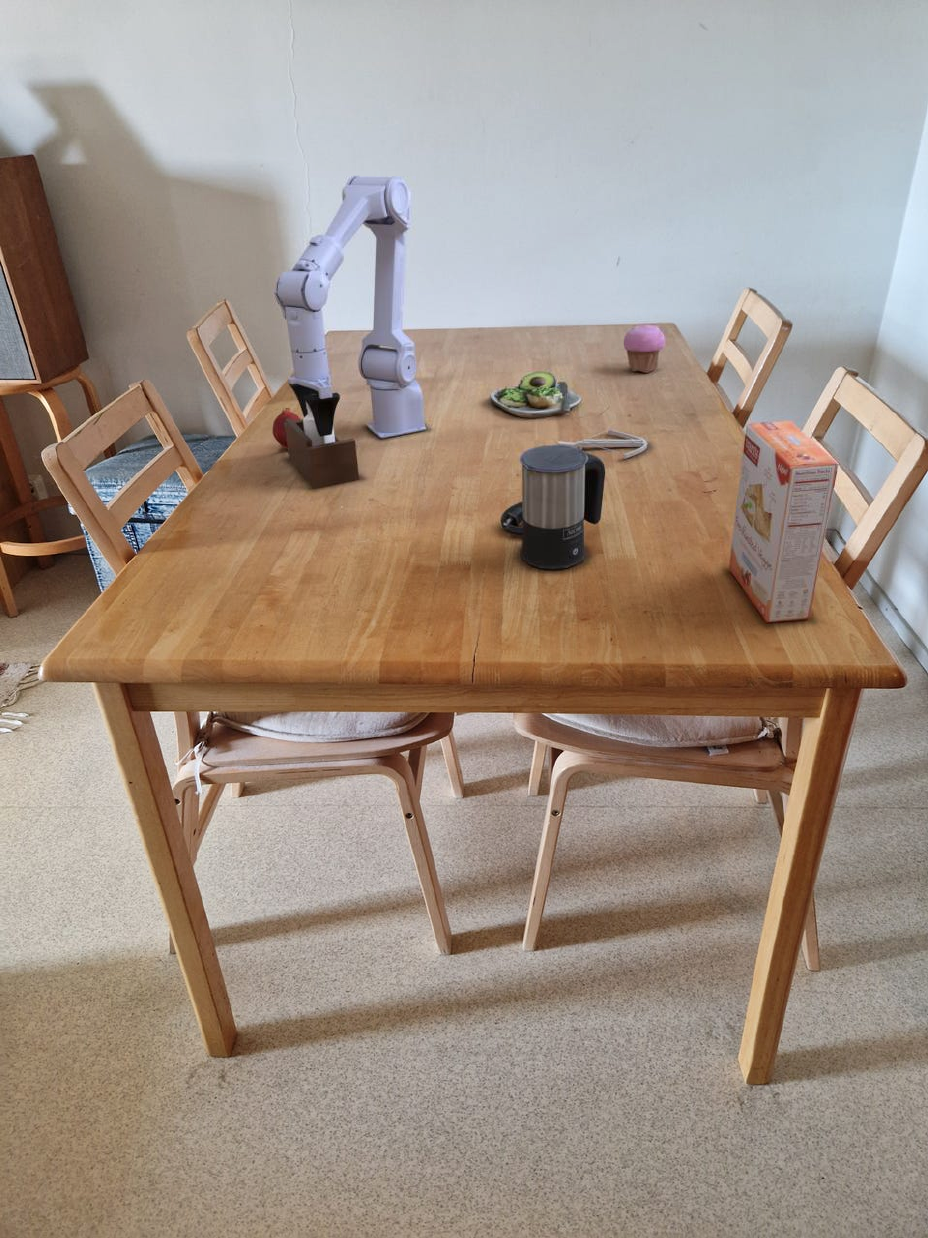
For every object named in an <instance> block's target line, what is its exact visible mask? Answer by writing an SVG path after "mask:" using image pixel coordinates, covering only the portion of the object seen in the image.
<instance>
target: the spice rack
mask: <svg viewBox="0 0 928 1238" xmlns="http://www.w3.org/2000/svg"><path fill="white" fill-rule="evenodd" d="M303 419H304V418H301V420H296V421H293V420H292V419H291V418H289V419H285V421H286V422H285V423H284V424H285V431H286V438H287V445H288V448H287V451H288V457H289V461H290V462H291V464H292V465H293V466H294V467H295V468H296V469H297V470H298V471H299V473H300V474H301V475H302V476H303V478H304V479H305V480H306V481H307V482H308V484H309V485H310V486H311V487H312V488H313V489H314V490H316V489H320V488H326V487H330V486H335V485H340V484H344V483H348V482H354V481H357V480H358V481H359V480H360V475H359V474H360V473H359V466H358V465H359V464H358V455H357V447H356V445H357V444H356V440H355V439H354V438H348V439H343V438H342V437H341V436H340V435H339V434H338V433H337V432H336V431H334V437H335V442H331V443H326V444H321V445H316V446H312V440H311V439H310V438H309V437H308V436H307V435H306V434H305V431H304V424H303Z"/></svg>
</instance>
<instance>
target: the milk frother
mask: <svg viewBox="0 0 928 1238" xmlns="http://www.w3.org/2000/svg"><path fill="white" fill-rule="evenodd" d="M519 462H520V464H521V501H519V502H517V503H515V504H513V505H511V506H509V507H508V508H506V509H505V510H504V512H502V514H501V516H500V525H501V528H502V529H503V530H504V531H505V532H507V533H509V534H510V535H514V536H521V538H522V539H521V549H520V551H519V552H520V553H519V555H520V558H521V559H522V560H523V562H525V563H526V564H527V565H530V566H531V567H534V568H537V569H544V570H563V569H569V568H571V567H574V566H577V565H578V564H580V563H582V561H583V560H584V559H585V558H586V548H585V522H587V523H589V524H592V525H597V524H599V523H600V522H601V519H602V518H601V517H602V508H603V500H604V491H605V481H606V480H605V479H606V467H605V463H604V462H603V461H602V459H601V458H600V457H598V456H596V455H594V454H592V453H588V452H585V450H583V449H581V450H580V449H579V448H575V447H570V446H565V445H558V444H548V445H539V446H536V447H531V448H529V449H527V450H525V451H523V452H522V453H521V455H519ZM584 521H585V522H584ZM521 524H522V526H520V525H521Z"/></svg>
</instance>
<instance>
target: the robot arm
mask: <svg viewBox="0 0 928 1238" xmlns="http://www.w3.org/2000/svg"><path fill="white" fill-rule="evenodd" d="M345 184H346V185H345V186H344V187H343V188H342V189H341V190H342V192H341V196H342V202H341V205H340V206H339V208H338V210H337V212H336V214H335V215H334V218H333V219H332V221H331V222H330V224H329V226H328V227H327V230H326V232H325V234H317V235H315V236H312V237H311V238H310V240H309V242H308V245H307V247H306V248H305V249H304V251H303V252H302V253H301V256H300V257H299V259H298V260H297V261H296V263H295V264H294V266H293V267H292V269H288V270H285V271H283V273H281V274H280V275H279V277H278V278H277V280H276V284H275V291H274V297H275V300H276V302H277V304H278V305H279V306H280V308H281V312H282V317H284V319H285V320H286V325H287V331H288V338H289V339H288V340H289V346H290V353H291V359H292V360H291V361H292V367H293V375H292V376H289V377H287V383H288V385H289V387H290V388H291V390H292V391H293V393H294V395H295V397H296V399H297V401H298V404H299V407H300V409H301V412H302V415H303V418H304V417H305V416H306V415H308V410H307V407H306V402H307V404H308V405H309V407H310V409H311V412H312V414H313V417H314V421H315V425H316V428H317V431H318V434H319V436H320V437H322V436H327V435H332V431H333V428H334V421H335V420H334V419H335V414H336V409H337V407H338V404H339V402H340V400H341V395H340V393H338V392H333V390H332V385H331V381H332V380H331V379H332V375H331V373H330V369H329V360H328V353H327V352H328V351H327V342H326V335H325V327H324V320H323V310H322V308H323V307H324V306H325V305H326V304H327V300H328V295H329V289H330V287H331V286H330V285H331V280H332V278H334V276H335V274H336V273H337V272H338V270H339V268H340V267H341V265H342V263H344V260H345V253H344V251H343V249H344V248H345V247H346V246H347V244H348V243H349V242H350V240H351V239H352V238H353V236H354V235H355V234H356V233H357V232H358V230H359V229H360V228H361V227H362V226H363V225H364V227H366V228H367V229H369V230H370V231H371V233H373V235H374V237H375V239H376V240H375V265H374V267H375V269H374V294H373V295H374V298H373V299H374V300H373V329H372V330H371V331H370V332H369V333H368V334H367V335H366V336H364V337H363V338H362V339H361V341H362V342H361V350H360V353H359V356H358V362H357V364H358V365H357V366H358V371H359V375H360V376H361V378H362V379H364V380H365V381H366V385H367V386H369V389H370V399H371V400H370V401H371V409H372V418H373V419H372V420H373V422H371V423H367V424H366V427H367V428H368V429H369V430H370V431H371V432H372V433H374V434H375V435H376V436H377V437H378V438H379V439H387V438H391V437H396V436H401V435H407V434H411V433H417V432H421V431H425V430H427V427H426V426H425V410H424V409H425V408H424V395H423V392H422V387H421V385H420V383H419V382H418V381H417V380H416V379H415V377H416V374H417V370H418V362H417V358H416V351H415V349H416V348H415V346H416V345H415V343H414V341H412V339H411V338H409V337H408V336H407V334H405V332H404V331H403V319H404V318H403V317H404V296H405V295H404V294H405V277H406V276H405V275H406V274H405V273H406V254H407V253H406V252H407V251H406V250H407V249H406V248H407V231H408V230H409V229H410V221H411V220H410V219H411V201H412V200H411V197H412V193H411V191H410V189H409V187H408V186H407V184H406V181H405V180H404V178H402V177H401V176H397V175H396V176H392V177H391V176H386V177H385V176H360V175H352V176H350V178H348V180H347V181H346V183H345ZM389 347H390V348H389ZM313 394H314V395H313ZM315 394H316V395H315Z"/></svg>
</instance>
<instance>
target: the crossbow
mask: <svg viewBox="0 0 928 1238" xmlns="http://www.w3.org/2000/svg"><path fill="white" fill-rule="evenodd" d="M605 432H607V434H609V435H612V436H616V437H621V438H624V439H593V437H597V436H599V435H602V434H604V433H605ZM557 445H565V446H570V447H575V448H577V449H580V450H584V448H587V447H588V448H594V447H595V448H596V447H597V448H600V449H604V450H606V451H607V450H608V451H610V452H614V453H617V454H620V455H623V456H622V459H623V460H626V459H628V458H631V457H634V456H636V455H639V454H640V453H642V452H643V451H646V449H647V448H648V442H647V440H646V439H643V438H642V437H639V436H636V435H633V434H629V433H625V432H622V431H617V430H614V429H611V428H609V429H607V430H604V431H603V432H600V433H598V434H595V435H593V436H590V437H589V438H584V439H580V440H576V441H574V442H571V441H561V440H560V441H559V440H557ZM609 448H636V449H634V450H632V451H630V452H627V453H622V452H618V451H616V450H612V449H609Z"/></svg>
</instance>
